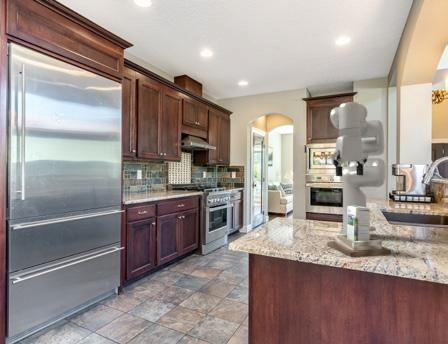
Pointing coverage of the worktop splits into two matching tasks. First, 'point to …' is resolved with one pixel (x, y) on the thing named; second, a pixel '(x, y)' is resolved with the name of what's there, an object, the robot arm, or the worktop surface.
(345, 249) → the collar board
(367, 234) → the syrup box
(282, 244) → the worktop surface
